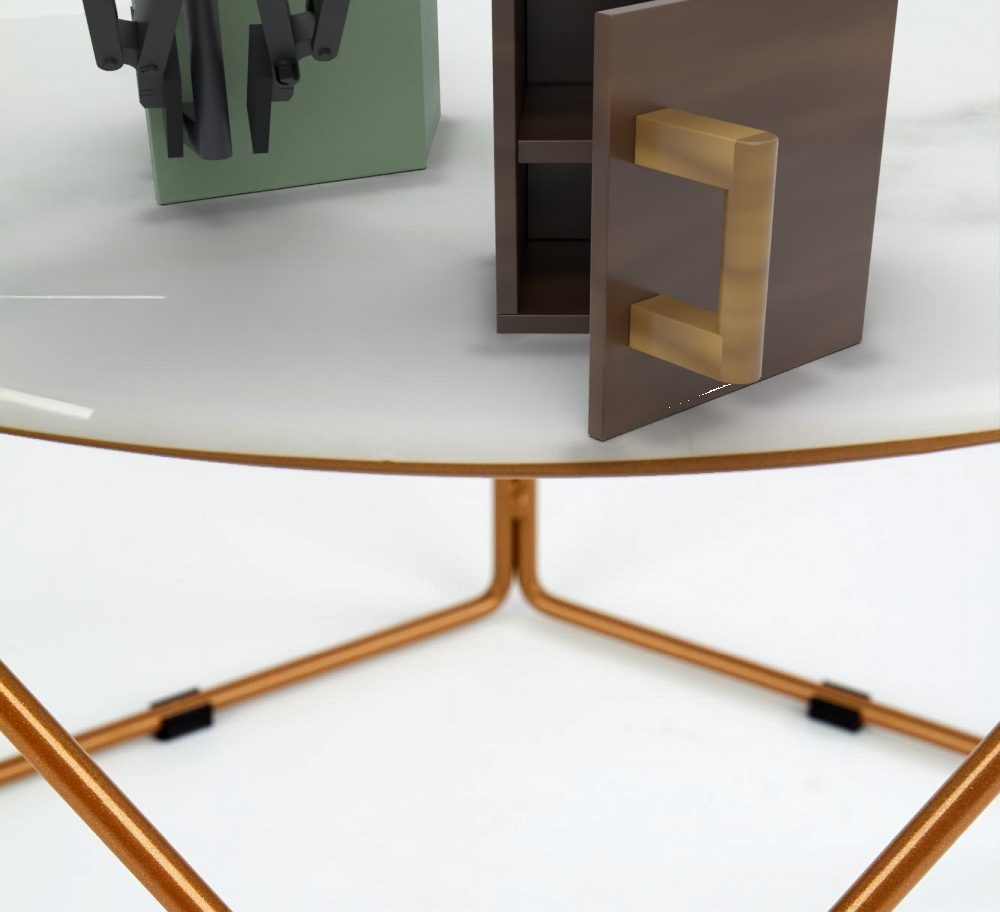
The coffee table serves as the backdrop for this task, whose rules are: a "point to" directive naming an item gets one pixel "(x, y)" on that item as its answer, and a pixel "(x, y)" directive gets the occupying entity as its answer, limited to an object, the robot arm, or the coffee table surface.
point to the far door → (293, 104)
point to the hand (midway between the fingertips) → (215, 130)
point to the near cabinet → (544, 162)
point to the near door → (729, 194)
